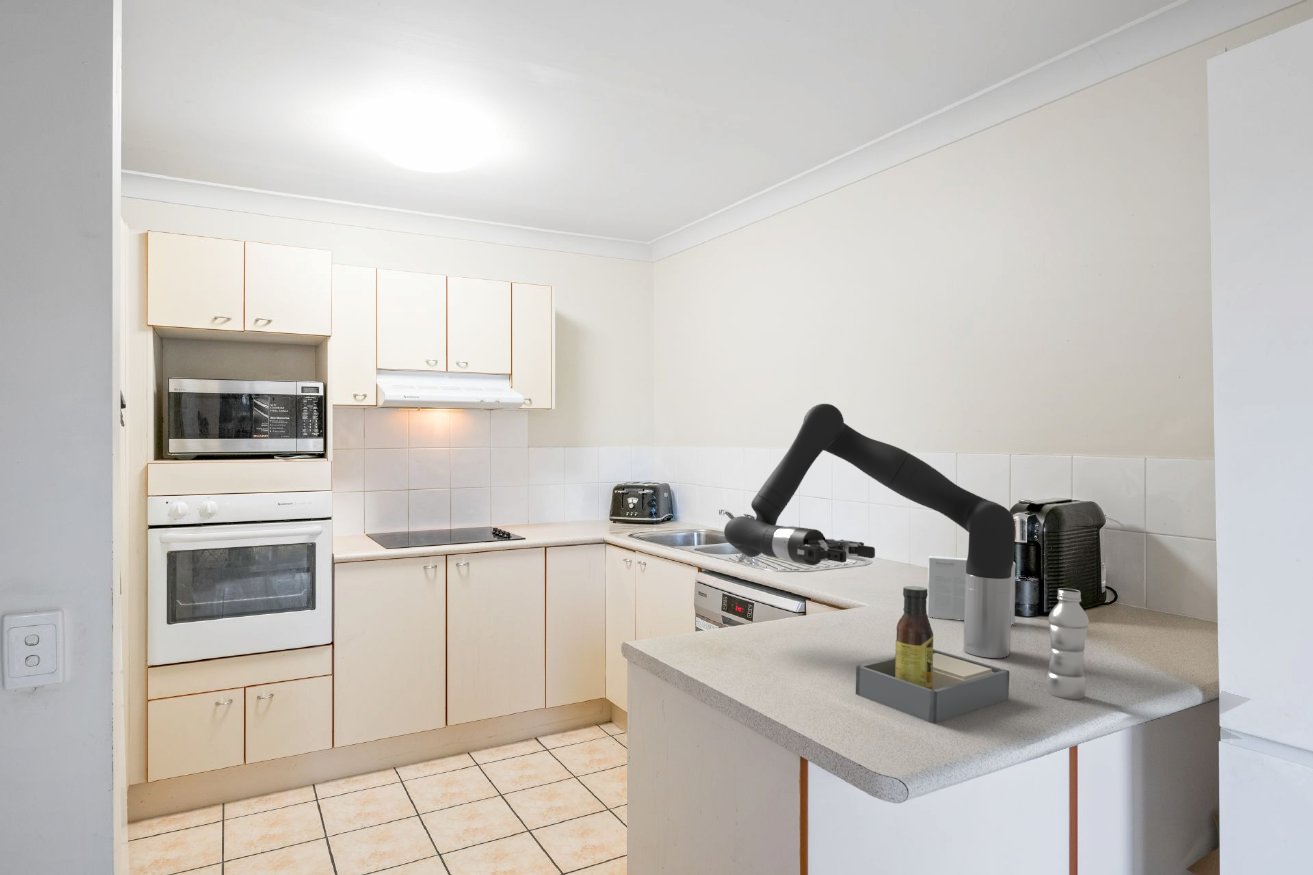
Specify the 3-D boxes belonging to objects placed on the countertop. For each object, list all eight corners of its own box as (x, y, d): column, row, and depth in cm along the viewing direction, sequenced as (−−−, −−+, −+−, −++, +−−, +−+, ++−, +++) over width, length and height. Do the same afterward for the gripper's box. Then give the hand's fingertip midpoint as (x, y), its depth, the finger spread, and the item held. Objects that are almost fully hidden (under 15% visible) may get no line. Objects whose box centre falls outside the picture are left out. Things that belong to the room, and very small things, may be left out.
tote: (930, 679, 150) (931, 648, 150) (1008, 704, 137) (1009, 670, 137) (855, 699, 137) (856, 665, 137) (933, 729, 124) (934, 692, 124)
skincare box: (1012, 621, 199) (1014, 560, 199) (1015, 626, 194) (1017, 563, 194) (926, 613, 206) (928, 554, 206) (926, 617, 201) (928, 557, 201)
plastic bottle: (1037, 693, 143) (1041, 586, 143) (1071, 692, 144) (1075, 586, 144) (1058, 705, 137) (1062, 593, 137) (1094, 705, 138) (1098, 594, 137)
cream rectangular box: (935, 678, 148) (935, 652, 147) (993, 696, 138) (994, 669, 138) (905, 686, 142) (906, 659, 142) (963, 706, 132) (964, 677, 132)
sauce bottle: (934, 709, 130) (938, 592, 130) (896, 705, 132) (899, 590, 132) (928, 696, 137) (932, 585, 137) (892, 693, 138) (895, 583, 138)
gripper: (774, 529, 159) (835, 538, 146) (821, 525, 167) (883, 532, 154) (774, 565, 159) (835, 577, 146) (821, 559, 167) (883, 570, 154)
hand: (859, 554), depth 150 cm, fingers open, 8 cm apart
